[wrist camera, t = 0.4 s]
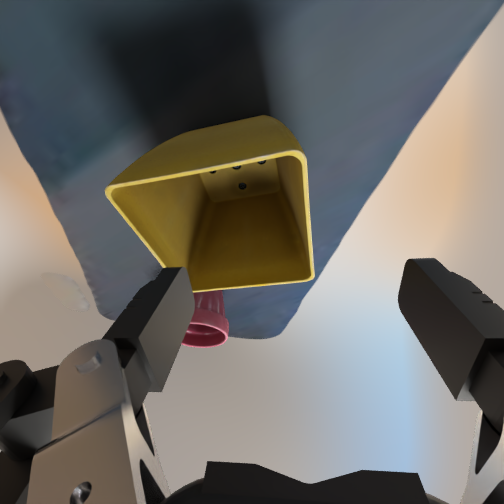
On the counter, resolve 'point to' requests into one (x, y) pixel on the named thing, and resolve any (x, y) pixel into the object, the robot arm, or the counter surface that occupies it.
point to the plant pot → (207, 321)
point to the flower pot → (223, 205)
